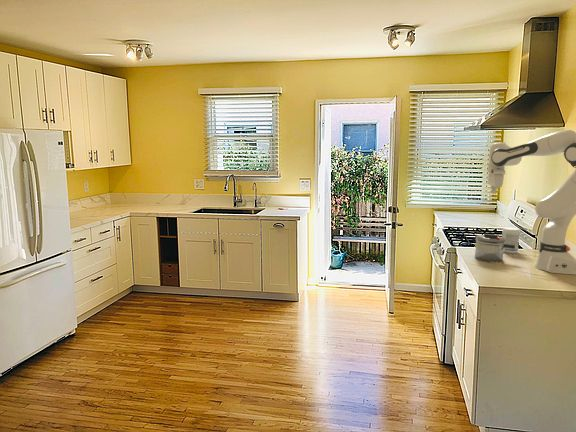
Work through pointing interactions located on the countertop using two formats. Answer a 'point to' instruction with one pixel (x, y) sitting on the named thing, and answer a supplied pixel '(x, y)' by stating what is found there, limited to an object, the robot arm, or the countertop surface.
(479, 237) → the cooker lid
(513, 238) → the supplement tub
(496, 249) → the cooker pot
